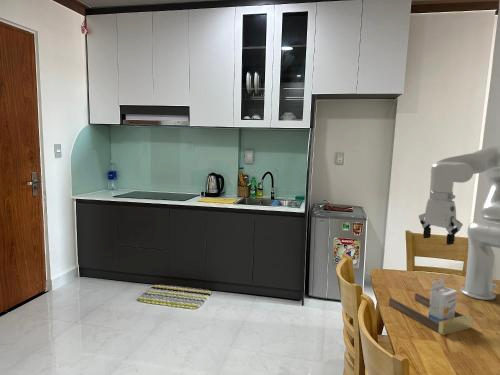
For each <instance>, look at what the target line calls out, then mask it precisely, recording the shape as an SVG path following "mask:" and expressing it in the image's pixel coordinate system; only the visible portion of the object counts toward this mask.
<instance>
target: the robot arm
mask: <svg viewBox="0 0 500 375" xmlns="http://www.w3.org/2000/svg"><path fill="white" fill-rule="evenodd" d="M484 172H485V173H486V178H487V182H488V186H489V188H488V191H487V194H486V196H485V199H484V202H483V204H482V206H481V209H480V212H479V214H480V217H481V218H482V219H483V220H484V221H480V220H479V221H478V220H477V221H473V222H471V223H470V224H469V225H468V226H467V231H466V232H467V242H468V243H467V245H468V250H467V261H466V272H465V273H466V274H465V282H464V284H465V285H464V286H463V285H462V286H461V287H460V293H462V294H463V295H465V296H467V297H470V298H472V299H473V298H474V299H477V300H481V301H482V300H484V301H492V300H494V299H496V294H495V292H493V290H494V289H495V290H496V289H498V285H497V284H496V283H493V279H494V270H495V260H496V255H495V252H494V250H493V248H497V249H500V145H491V146H487V147H484V148H482V149H480V150H476V151H474V152H472V153H471V152H470V153H467V154H466V153H465V154H460V155H455V156H449V157H446V158H443V159H440V160H438V161H436V162H434V164H432V165H431V168H430V182H429V183H430V184H429V185H430V186H429V198H428V199H427V201H426V206H425V212H424V213H422V214H418V218H419V222H420V224H421V227H422V229H423V232H422V233H423V239H429V238H431V233H432V232H431V231H432V226H433V227H437V228H443V229H445V230H446V231H447V234H446V245H447V246H450V245H454V243H455V238H456V237H455V236H456V234H457V233H458V232H460V230H461V229H462V227H463V225H464V224H463V223H462V222H461V221H460V220H458V219H457V208H456V202H455V201H454V200H455V198H456V195H454V183H458V184H459V183H467V182H469V181H470V180H471V179H472V178H473V176H474V175H475V174H476V175H477V174H482V173H484Z"/></svg>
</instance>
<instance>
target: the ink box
mask: <svg viewBox="0 0 500 375" xmlns="http://www.w3.org/2000/svg"><path fill="white" fill-rule="evenodd" d="M438 283H439V284H438ZM430 288H431V289H430V296H429V297H430V298H429V299H430V305H429V307H428V316H427V317H428V318H430V319H432V320H434V321H436V322H438V323H439V321H443V320H447V319H451V318H454V315H455V311H456V304H457V293H458V291H457V290H456V289H452V288H450V287H447V286H445V277H444V278H440V279H437V280H434V281H432V282H431V287H430Z"/></svg>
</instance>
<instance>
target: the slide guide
mask: <svg viewBox="0 0 500 375" xmlns="http://www.w3.org/2000/svg"><path fill="white" fill-rule="evenodd" d="M414 301H416V302H417V303H420V304H422V305H424V306H425V307H427V308H429V305H430V298H428V297H426V296H424V295H423V294H422V295H421V294H419V293H418V292H415V293H414ZM388 306H391V308H394V309H395V310H397V311H398V312H401V313H402V314H405V315H406V316H408V317H410V318H412V319H413V320H415V321H416V322H419V323H420V324H422V325H424V326H426V327H428V328H429V329H431V330H433V331H435V332H436V333H438V334H440V335H441V336H444V335H448V334H452V333H456V332H460V331H463V330H464V331H465V330H468V329H471V328H473V319H474V318H473V316H472V315H471V314H465V315H464V314H462V313H460V312H458V311H456V310H455V315H454V318H451V319H447V320H443V321H439V323H438V322H436V321H434V320H432V319H430V318H428V316H427V315H424V314H422V313H421V312H419V311H417V310H415V309H413V308H412V307H410V306H407V305H405V304H404V303H401V302H400V301H398V300H396V299H394V298H393V297H389V301H388Z"/></svg>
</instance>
